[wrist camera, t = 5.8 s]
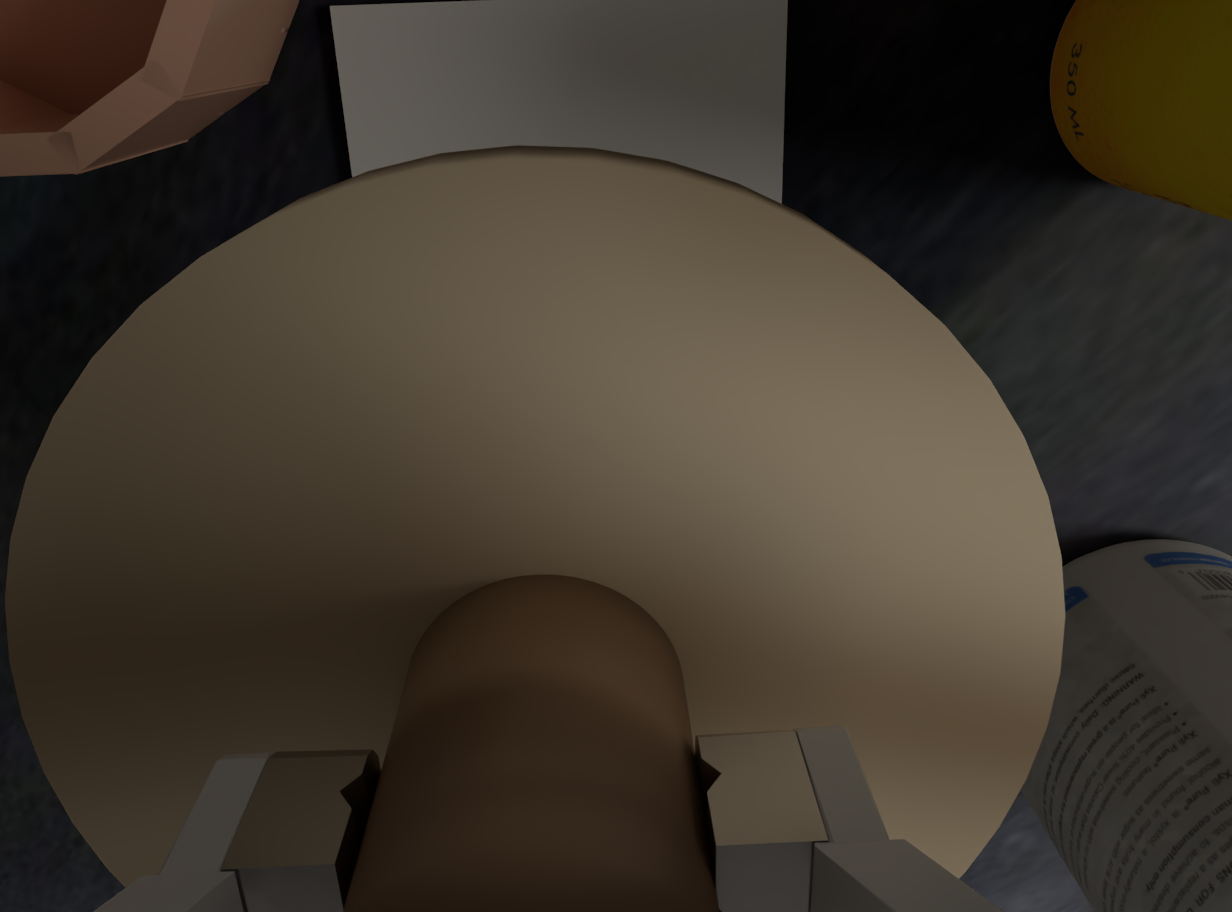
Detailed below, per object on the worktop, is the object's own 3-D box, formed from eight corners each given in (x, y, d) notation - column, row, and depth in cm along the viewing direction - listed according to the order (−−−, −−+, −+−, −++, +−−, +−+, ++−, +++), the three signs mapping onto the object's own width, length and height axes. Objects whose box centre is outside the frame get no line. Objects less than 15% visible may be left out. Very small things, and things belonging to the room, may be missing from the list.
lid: (970, 960, 15) (1145, 1385, 11) (167, 999, 15) (-25, 1450, 10) (1091, 125, 11) (1508, 205, 6) (-70, 165, 10) (-622, 283, 6)
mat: (768, 564, 31) (771, 570, 31) (408, 580, 31) (406, 587, 31) (785, -11, 25) (787, -11, 24) (333, 6, 25) (329, 5, 24)
